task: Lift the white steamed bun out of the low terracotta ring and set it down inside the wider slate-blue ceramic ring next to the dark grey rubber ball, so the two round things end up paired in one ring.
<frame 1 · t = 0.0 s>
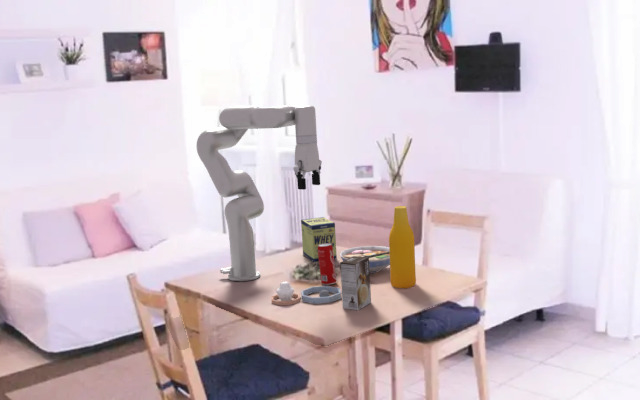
hand: (309, 187, 283), 37 cm above the table, tool pointing down, fingers open, 9 cm apart
grey ball: (324, 300, 272), resting in slate ring
coffee box: (357, 306, 264), on the table
protein box: (319, 257, 332), on the table
terracotta ring: (285, 300, 274), on the table
ramen bowl: (369, 271, 306), on the table
slate ring: (321, 297, 275), on the table
white steamed bun: (285, 301, 274), resting in terracotta ring
beverage can: (328, 283, 292), on the table
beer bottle: (403, 285, 285), on the table
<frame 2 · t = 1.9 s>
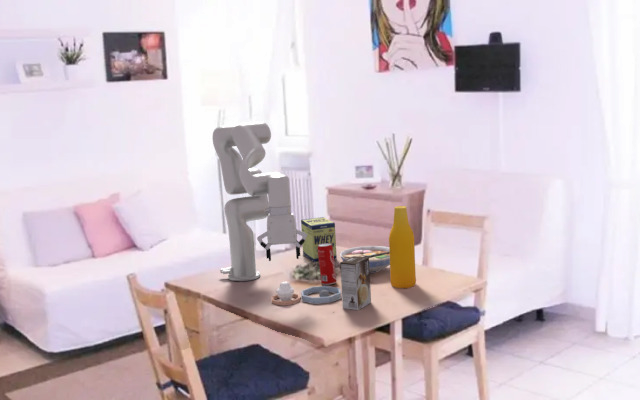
hand: (283, 259, 271), 15 cm above the table, tool pointing down, fingers open, 9 cm apart
nothing on the table moved.
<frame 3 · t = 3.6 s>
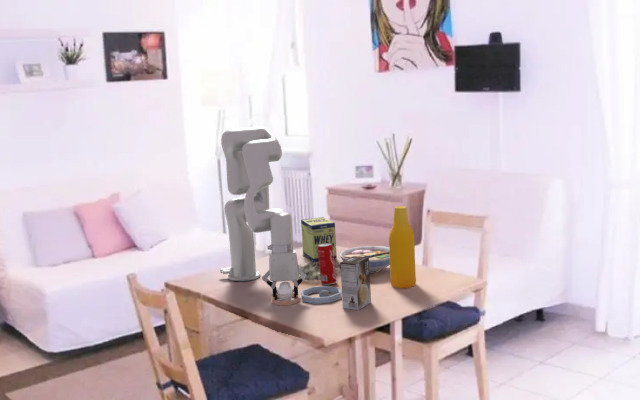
hand: (285, 297, 274), 1 cm above the table, tool pointing down, fingers closed on white steamed bun, 6 cm apart
white steamed bun: (285, 301, 274), resting in terracotta ring, touching gripper
everything else where it was.
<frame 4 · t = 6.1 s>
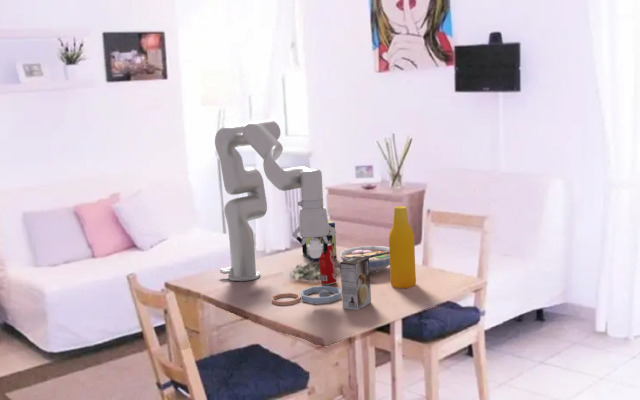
hand: (315, 253, 275), 15 cm above the table, tool pointing down, fingers closed on white steamed bun, 6 cm apart
white steamed bun: (315, 257, 275), point 14 cm above the table, touching gripper
everything else where it was.
when the fingers open (3 cm above the table, at t = 8.7 s): white steamed bun drops 2 cm, resting in slate ring.
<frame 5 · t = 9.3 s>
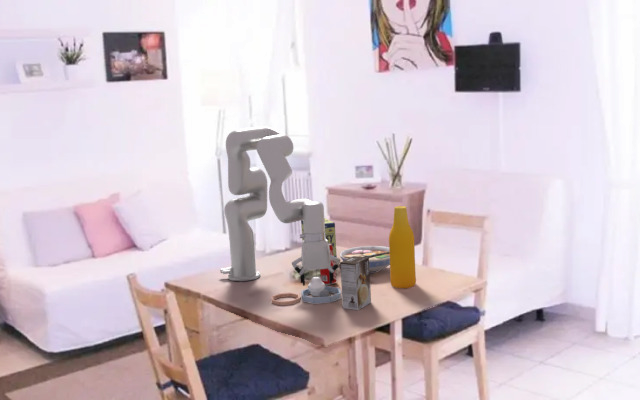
hand: (317, 283, 277), 4 cm above the table, tool pointing down, fingers open, 9 cm apart
white steamed bun: (317, 295, 278), resting in slate ring
everything else where it was.
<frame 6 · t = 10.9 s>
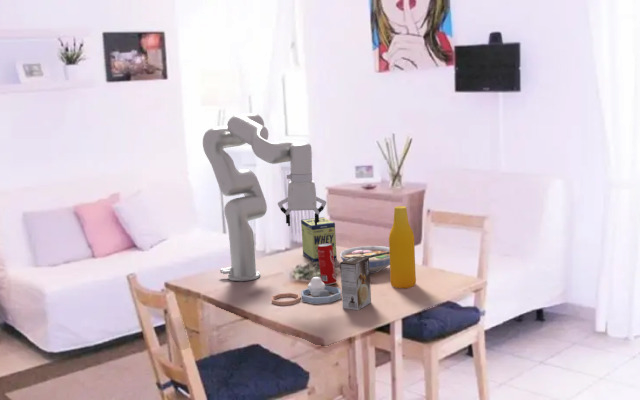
hand: (302, 224, 279), 25 cm above the table, tool pointing down, fingers open, 9 cm apart
nothing on the table moved.
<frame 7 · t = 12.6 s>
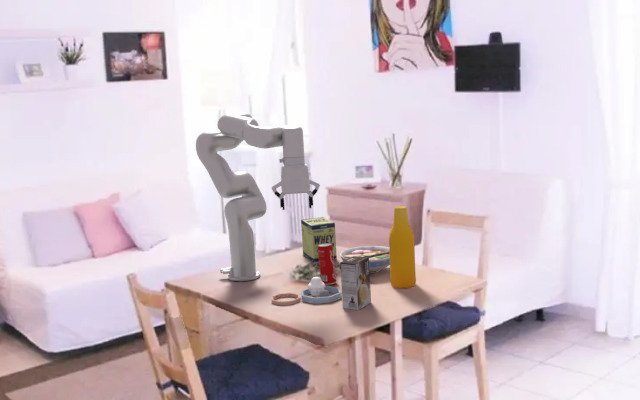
hand: (296, 208, 280), 30 cm above the table, tool pointing down, fingers open, 9 cm apart
nothing on the table moved.
at the end: white steamed bun 2.9 cm from the slate ring (horizontally); white steamed bun resting in slate ring; the gripper is holding nothing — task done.
